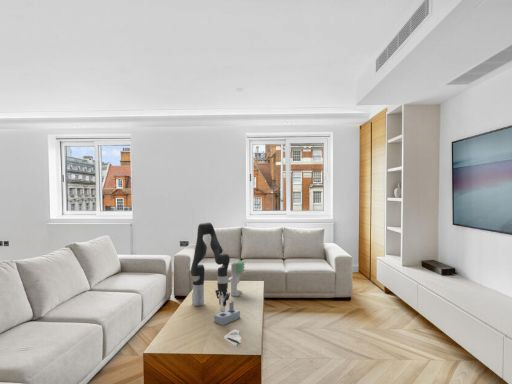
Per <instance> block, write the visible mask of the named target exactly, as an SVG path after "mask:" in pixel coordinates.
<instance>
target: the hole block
mask: <svg viewBox="0 0 512 384" xmlns="http://www.w3.org/2000/svg"><path fill="white" fill-rule="evenodd" d="M213 317H214V318H213V322H214V323H216V324H219V325H220V326H221V325H222V326H224V325H227V324H229V323H231V322H233V321H235V320H237V319H240V318H241V311H240V310H239V309H236V308H234V312H232V313H231V312H229V308H228V309H225V312H221V311H220V312H218V313H215V314H214V315H213Z"/></svg>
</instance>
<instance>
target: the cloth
mask: <svg viewBox="0 0 512 384" xmlns="http://www.w3.org/2000/svg"><path fill="white" fill-rule="evenodd" d="M223 338H224V339H225V340H226V341H227V342H229V343H230V344H232V345H233V346H235V347H236V348H237V345H238V344H241V342H242V336H241V335H240V330H237V329H236V328H234V329H232V330H231V331H230V332H228V333H227V334H226V335H224V337H223Z"/></svg>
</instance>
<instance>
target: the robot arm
mask: <svg viewBox="0 0 512 384" xmlns="http://www.w3.org/2000/svg"><path fill="white" fill-rule="evenodd" d="M196 235H197V236H196V238H197V239H196V242H195V248H194V254H193V255H194V256H193V261H192V263H191V268H190V275H191V276H192V277H196V278H195V279H193V280H192V294H191V303H192V304H191V305H192V306H194V307H200V306H201V307H202V306H203V305H204V304H205V271H206V270H205V266H204V265H203V264H199V263H200V262H201V261H203V259H204V258H205V256H206V255H207V250H208V246H207V244H206V243H205V241H204V239H203V238H204V236H206V235H210V246H209V247H210V249H211V251H212V253H213V255H214V261H215V263H216V264H217V265H221V266H220V267H218V268H217V283H216V284H217V289H216V290H214V291H215V295H216V298H217V299H218V301H219V305H220V306H221V302H220V295H222V298H223V306H225V307H226V306H227V301H229V300H230V296H231V292H229V291H228V289H229V286H228V285H229V282H228V279H229V277H228V268H229V265H230V259H231V257H230V255H229V254H228V253H223V251H224V250H223V248H222V247H223V246H221V244H220V242H219V240H218V238H217V237H218V236H217V234H216V231H215V228H214V225H213V224H212V223H211V222H204V223H199V224H198V226H197V234H196ZM222 253H223V254H222Z"/></svg>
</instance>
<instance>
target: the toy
mask: <svg viewBox="0 0 512 384" xmlns="http://www.w3.org/2000/svg"><path fill="white" fill-rule="evenodd" d="M230 265H231V268H230V269H231V273H230V276H229V277H228V283H230V296H231V297H240V294H241V293H243V290H241V289H239V290H238V284H239V283H240V275H241V274H242V273H244V271H245V260H243V261H242V260H235V261H233V262H232V263H231V264H230ZM241 295H242V294H241Z"/></svg>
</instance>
